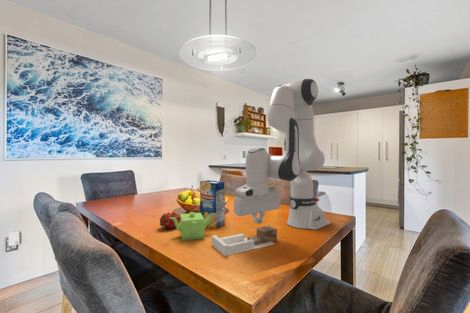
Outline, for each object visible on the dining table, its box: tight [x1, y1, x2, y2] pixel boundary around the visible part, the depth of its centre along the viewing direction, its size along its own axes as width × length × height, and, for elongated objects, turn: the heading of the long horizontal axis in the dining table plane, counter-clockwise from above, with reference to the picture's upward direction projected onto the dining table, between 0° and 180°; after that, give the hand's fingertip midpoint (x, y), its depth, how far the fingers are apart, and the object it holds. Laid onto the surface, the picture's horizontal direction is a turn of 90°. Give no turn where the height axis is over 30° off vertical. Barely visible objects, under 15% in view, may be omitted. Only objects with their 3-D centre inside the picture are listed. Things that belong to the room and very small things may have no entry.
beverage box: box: [199, 179, 226, 229], centre depth 120 cm, size 7×11×22 cm, turn 53°
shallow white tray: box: [211, 233, 275, 257], centre depth 91 cm, size 22×11×5 cm, turn 119°
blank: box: [246, 225, 278, 245], centre depth 95 cm, size 11×5×4 cm, turn 119°
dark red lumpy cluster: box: [159, 211, 181, 230], centre depth 115 cm, size 8×8×12 cm
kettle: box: [169, 211, 211, 242], centre depth 101 cm, size 15×14×11 cm
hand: (258, 223), depth 94 cm, fingers closed
